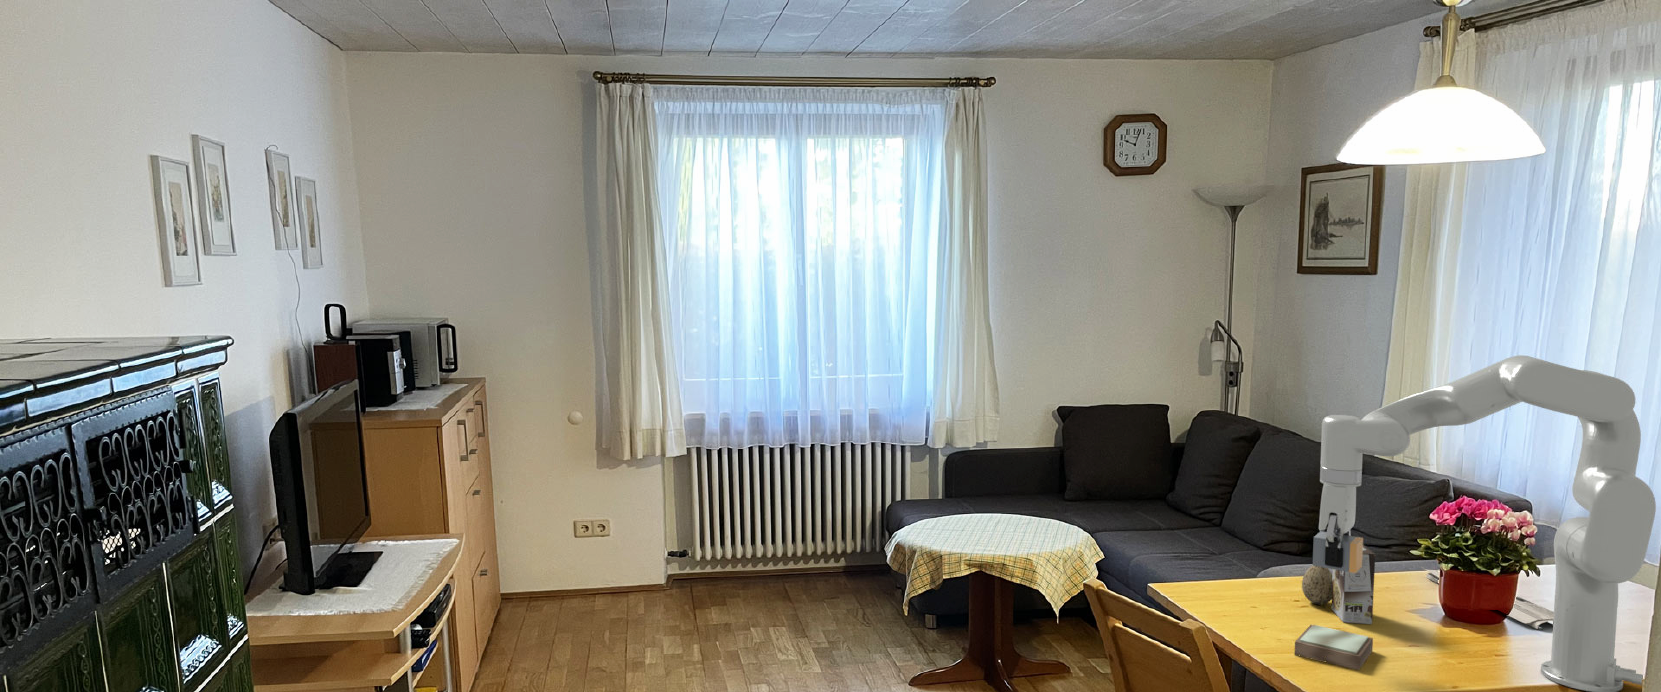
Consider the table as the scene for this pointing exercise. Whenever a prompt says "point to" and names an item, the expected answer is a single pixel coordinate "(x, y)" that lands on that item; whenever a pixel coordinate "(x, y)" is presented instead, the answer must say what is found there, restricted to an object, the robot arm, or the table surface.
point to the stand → (1334, 646)
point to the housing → (1350, 552)
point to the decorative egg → (1317, 585)
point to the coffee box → (1355, 591)
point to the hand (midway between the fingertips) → (1337, 561)
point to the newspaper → (1517, 608)
